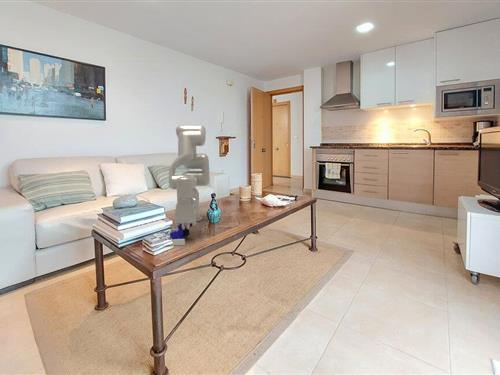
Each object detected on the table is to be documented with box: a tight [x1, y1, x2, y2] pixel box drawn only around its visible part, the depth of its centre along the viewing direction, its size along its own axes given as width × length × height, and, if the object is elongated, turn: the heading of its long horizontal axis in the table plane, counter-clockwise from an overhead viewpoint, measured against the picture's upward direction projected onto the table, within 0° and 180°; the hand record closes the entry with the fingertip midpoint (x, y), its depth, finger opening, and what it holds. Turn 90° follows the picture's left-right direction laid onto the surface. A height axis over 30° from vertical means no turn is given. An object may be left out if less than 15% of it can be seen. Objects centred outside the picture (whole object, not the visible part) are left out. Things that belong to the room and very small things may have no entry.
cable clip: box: [170, 226, 186, 239], centre depth 136 cm, size 12×4×6 cm, turn 174°
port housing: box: [167, 227, 187, 247], centre depth 137 cm, size 17×10×3 cm, turn 6°
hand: (186, 235), depth 137 cm, fingers closed
